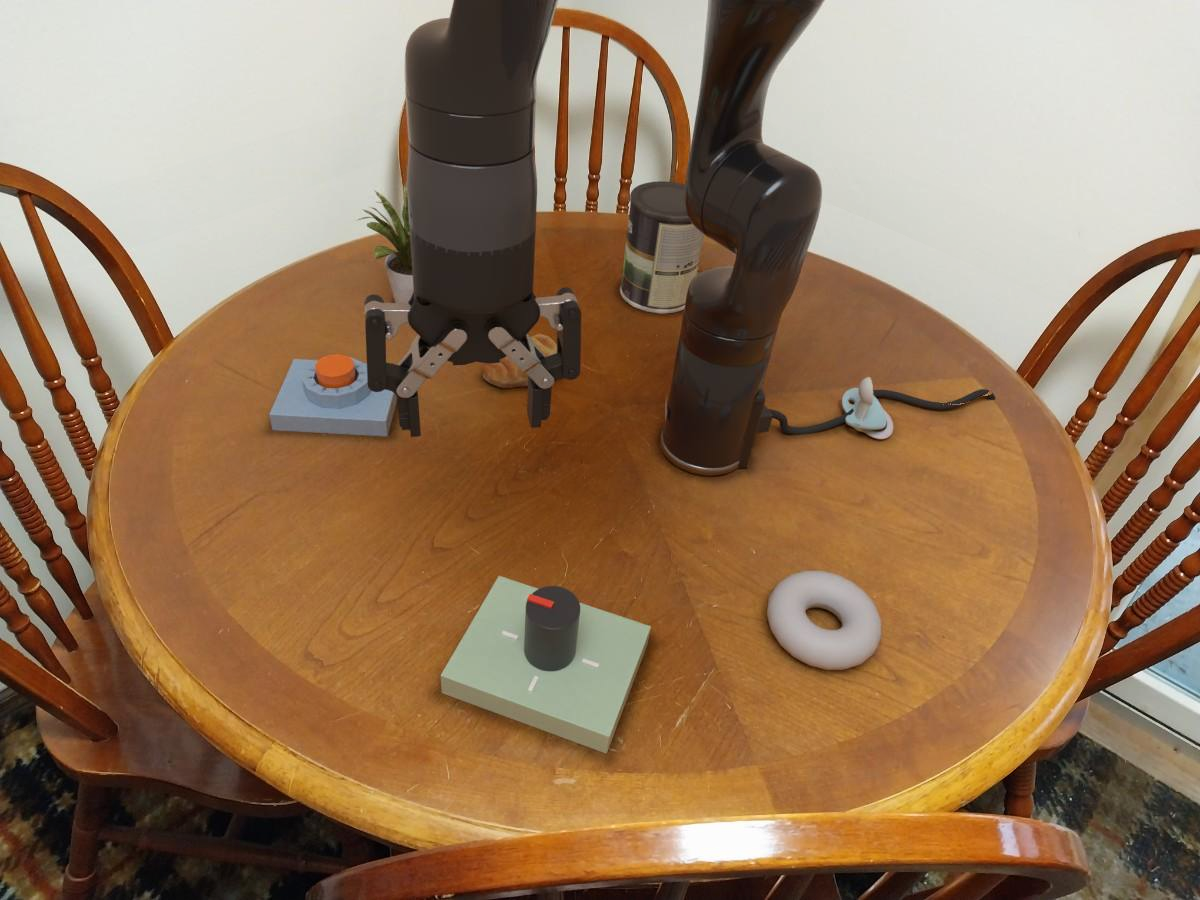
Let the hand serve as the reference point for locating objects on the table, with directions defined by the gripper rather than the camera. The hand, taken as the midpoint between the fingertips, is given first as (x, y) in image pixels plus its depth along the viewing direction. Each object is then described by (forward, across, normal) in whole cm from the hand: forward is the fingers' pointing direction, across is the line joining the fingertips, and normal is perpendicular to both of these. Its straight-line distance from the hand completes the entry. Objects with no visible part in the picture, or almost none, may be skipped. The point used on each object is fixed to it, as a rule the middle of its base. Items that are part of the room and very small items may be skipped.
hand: (475, 425), depth 61 cm
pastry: (+21, +10, +33) cm, 40 cm away
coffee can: (+21, +30, +50) cm, 62 cm away
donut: (+21, +30, -8) cm, 37 cm away
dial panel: (+20, +5, -8) cm, 22 cm away
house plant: (+21, -3, +48) cm, 53 cm away
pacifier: (+21, +48, +19) cm, 55 cm away
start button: (+17, -12, +30) cm, 36 cm away
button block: (+20, -12, +30) cm, 38 cm away
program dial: (+18, +5, -8) cm, 20 cm away
